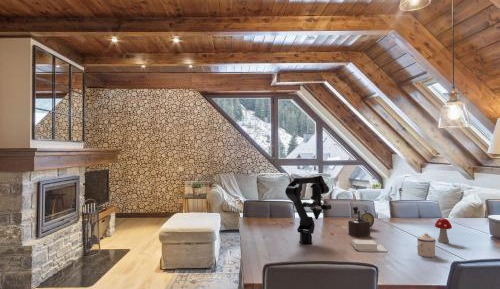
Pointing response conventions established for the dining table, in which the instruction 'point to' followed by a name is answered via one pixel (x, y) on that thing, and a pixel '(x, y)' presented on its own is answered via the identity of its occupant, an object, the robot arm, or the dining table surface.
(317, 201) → the robot arm
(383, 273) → the dining table surface
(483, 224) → the dining table surface
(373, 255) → the dining table surface
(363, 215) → the alarm clock
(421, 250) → the teacup with lid
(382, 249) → the mat
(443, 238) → the decorative mushroom
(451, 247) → the dining table surface
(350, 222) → the dark brown boxy piece
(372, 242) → the beige rectangular block
